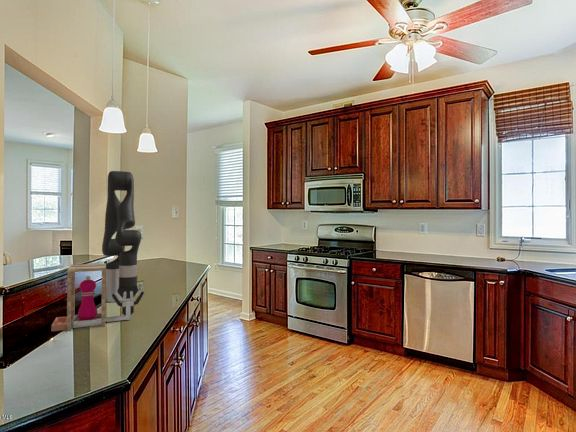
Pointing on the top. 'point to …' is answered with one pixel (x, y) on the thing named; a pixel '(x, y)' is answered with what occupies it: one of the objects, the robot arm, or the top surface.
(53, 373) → the top surface
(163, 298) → the top surface
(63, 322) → the pit tray
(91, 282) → the pepper mill
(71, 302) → the shelf tunnel
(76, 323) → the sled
